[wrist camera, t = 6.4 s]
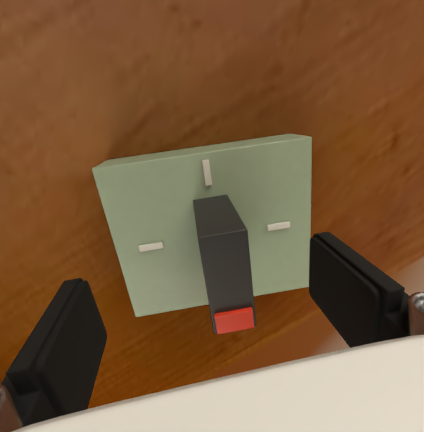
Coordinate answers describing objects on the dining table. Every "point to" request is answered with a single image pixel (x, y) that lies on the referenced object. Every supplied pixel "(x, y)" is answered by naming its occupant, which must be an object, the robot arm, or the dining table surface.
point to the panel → (185, 218)
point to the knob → (225, 264)
